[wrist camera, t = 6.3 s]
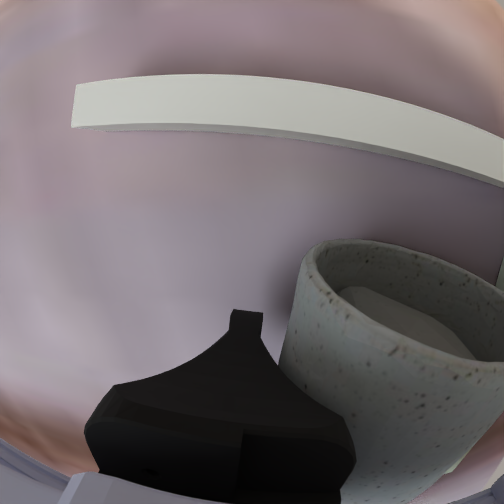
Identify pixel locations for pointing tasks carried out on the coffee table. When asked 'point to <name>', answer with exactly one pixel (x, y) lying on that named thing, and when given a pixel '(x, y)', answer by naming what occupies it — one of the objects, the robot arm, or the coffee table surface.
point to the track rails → (290, 117)
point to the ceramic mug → (397, 360)
